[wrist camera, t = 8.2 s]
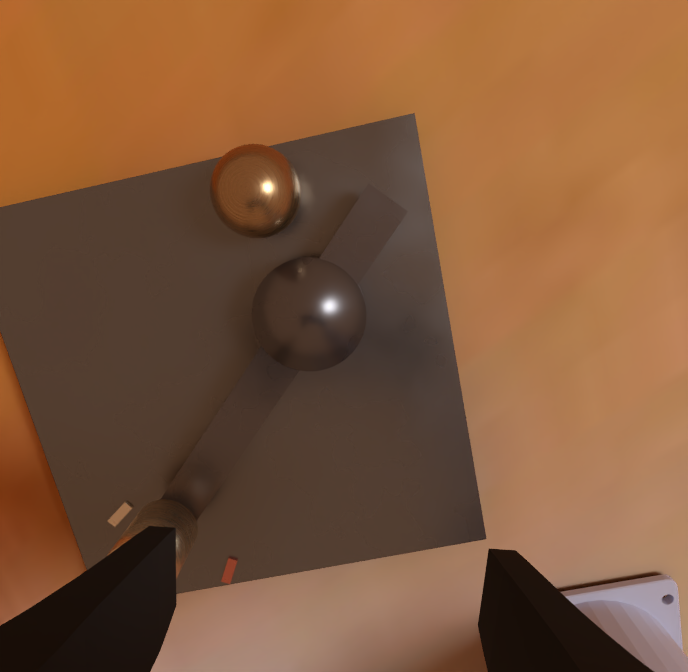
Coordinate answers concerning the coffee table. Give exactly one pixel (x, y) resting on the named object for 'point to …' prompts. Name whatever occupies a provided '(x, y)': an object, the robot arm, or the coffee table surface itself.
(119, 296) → the dark grey flat slab
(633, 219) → the coffee table surface
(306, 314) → the lever
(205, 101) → the coffee table surface
